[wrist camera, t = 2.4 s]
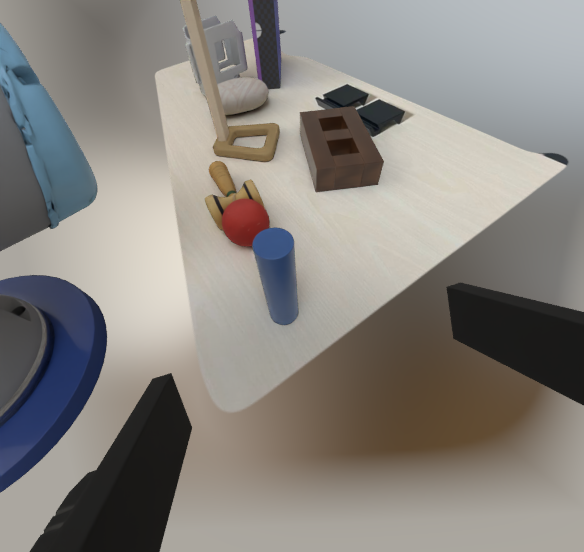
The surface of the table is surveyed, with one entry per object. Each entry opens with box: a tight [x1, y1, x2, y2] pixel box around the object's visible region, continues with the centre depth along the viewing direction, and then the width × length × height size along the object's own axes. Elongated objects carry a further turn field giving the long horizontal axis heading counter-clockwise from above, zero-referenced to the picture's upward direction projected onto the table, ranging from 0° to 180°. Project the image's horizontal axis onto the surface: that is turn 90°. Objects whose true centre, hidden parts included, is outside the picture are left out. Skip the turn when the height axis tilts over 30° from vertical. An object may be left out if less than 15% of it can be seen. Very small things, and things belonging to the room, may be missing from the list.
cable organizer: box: [183, 16, 247, 96], centre depth 58 cm, size 7×12×12 cm, turn 137°
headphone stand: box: [180, 0, 280, 162], centre depth 41 cm, size 10×11×22 cm
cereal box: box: [248, 0, 281, 89], centre depth 57 cm, size 17×5×24 cm, turn 0°
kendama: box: [205, 161, 269, 246], centre depth 38 cm, size 8×6×18 cm
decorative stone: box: [207, 77, 268, 115], centre depth 55 cm, size 13×9×5 cm
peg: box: [252, 228, 298, 325], centre depth 25 cm, size 3×3×12 cm
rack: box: [300, 106, 384, 192], centre depth 45 cm, size 10×17×4 cm, turn 7°
